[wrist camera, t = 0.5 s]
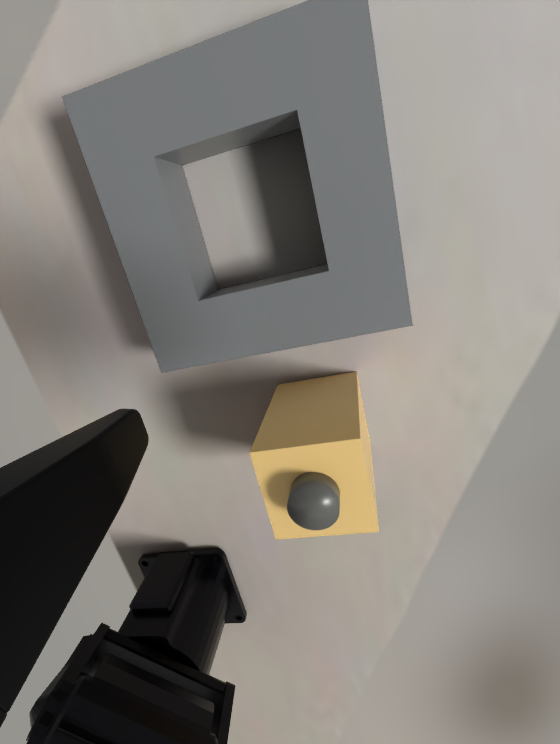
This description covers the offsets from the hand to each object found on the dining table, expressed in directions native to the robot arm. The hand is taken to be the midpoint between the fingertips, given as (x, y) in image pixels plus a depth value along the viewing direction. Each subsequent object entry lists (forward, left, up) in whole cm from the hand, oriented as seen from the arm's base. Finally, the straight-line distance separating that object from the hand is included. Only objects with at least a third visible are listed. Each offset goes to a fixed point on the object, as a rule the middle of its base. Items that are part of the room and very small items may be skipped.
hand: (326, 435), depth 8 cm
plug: (-6, +2, -13) cm, 14 cm away
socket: (+5, +3, -13) cm, 14 cm away
